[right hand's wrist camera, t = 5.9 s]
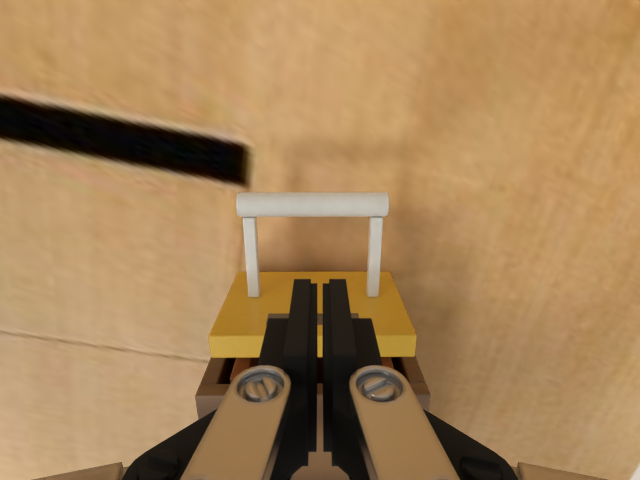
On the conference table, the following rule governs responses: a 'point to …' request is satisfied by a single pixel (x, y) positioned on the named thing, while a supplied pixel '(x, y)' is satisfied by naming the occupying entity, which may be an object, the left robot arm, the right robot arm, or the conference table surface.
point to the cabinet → (319, 472)
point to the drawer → (276, 287)
